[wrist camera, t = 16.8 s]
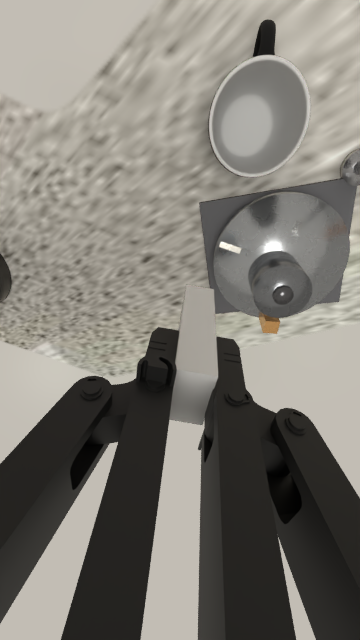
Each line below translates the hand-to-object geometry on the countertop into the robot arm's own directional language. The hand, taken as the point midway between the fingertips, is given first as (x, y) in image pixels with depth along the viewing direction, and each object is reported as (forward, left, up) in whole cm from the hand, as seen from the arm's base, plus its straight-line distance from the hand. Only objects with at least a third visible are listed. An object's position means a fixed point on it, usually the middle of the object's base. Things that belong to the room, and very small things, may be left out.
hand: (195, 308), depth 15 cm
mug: (+6, +10, -28) cm, 30 cm away
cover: (+9, -10, -24) cm, 27 cm away
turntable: (+9, -8, -25) cm, 28 cm away
